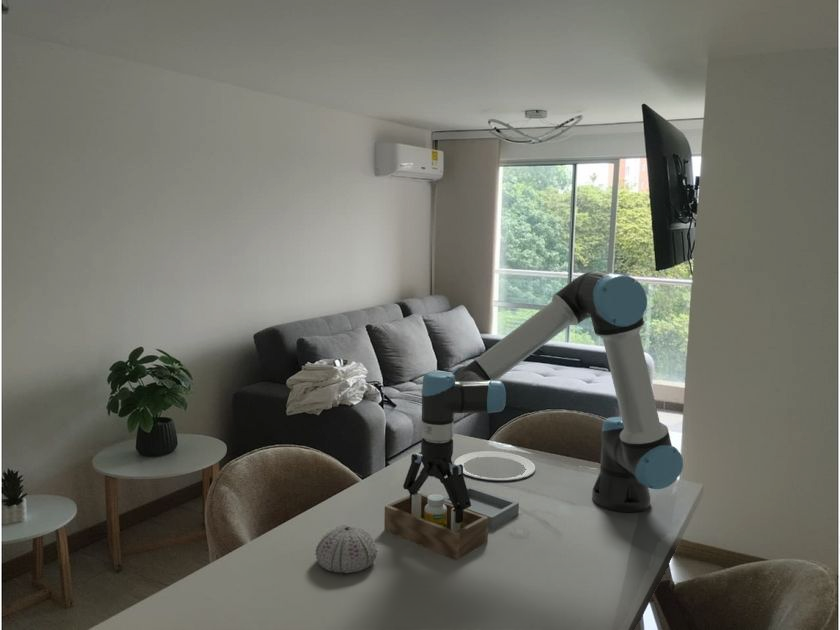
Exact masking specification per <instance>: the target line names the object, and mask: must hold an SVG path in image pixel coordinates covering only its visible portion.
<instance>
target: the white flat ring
mask: <svg viewBox="0 0 840 630" xmlns="http://www.w3.org/2000/svg"><path fill="white" fill-rule="evenodd" d="M477 457H478V458H488V457H489V458H491V457H493V458H501V459H502V458H503V459H508V460H511V461H515V462H516V463H517V462H518V463H519V464H521V465H522V466H523V465H524V466H523V468H524V471H525V472H524V471H523V472H524V473H523V472H522V473H523V474H522V473H521V474H522V475H521V474H519V475H515V476H516V477H515V476H513V477H512V476H511V477H504V478H501V477H500V478H498V477H496V478H495V477H486V476H481V477H480V475H477V474H474V473H472V472H470V471H468V470H467V469H466V468H465V464H466V463H467V462H468V461H470V460H473V459H478V458H477ZM464 463H465V464H464ZM453 464H454V465H460V464H461V465H462V466H463V476H467V477H469V478H474V479H477V480H482V481H489V482H512V481H518V480H521V479H526V478H528V477H530V476H532V475H533V474H534V473H535V471H536V465H535V464H534V463H533V461H531V460H529V458H526V457H523V456H521V455H518V454H514V453H510V452H503V451H493V450H492V451H491V450H490V451H487V450H486V451H483V450H482V451H474V452H468V453H465V454H463V455H461V456H458V457H457V458H456V459H454V463H453ZM465 469H466V470H467V471H468V472H467V471H466V470H465ZM525 469H526V470H525ZM469 472H470V473H469ZM471 473H472V474H471ZM473 474H474V475H473Z"/></svg>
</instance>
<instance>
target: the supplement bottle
mask: <svg viewBox="0 0 840 630" xmlns="http://www.w3.org/2000/svg"><path fill="white" fill-rule="evenodd" d="M427 496H428V497H427V503H428V504H427V505H426V506H425V509H424V519H425V520H428V521H430V522H433V523H435V524H438V525H440V526H443V527H446V528H447V508H446V506H445V505H444V498H445V497H444V496H443V495H442V494H438V493H435V494H430V495H427Z"/></svg>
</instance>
